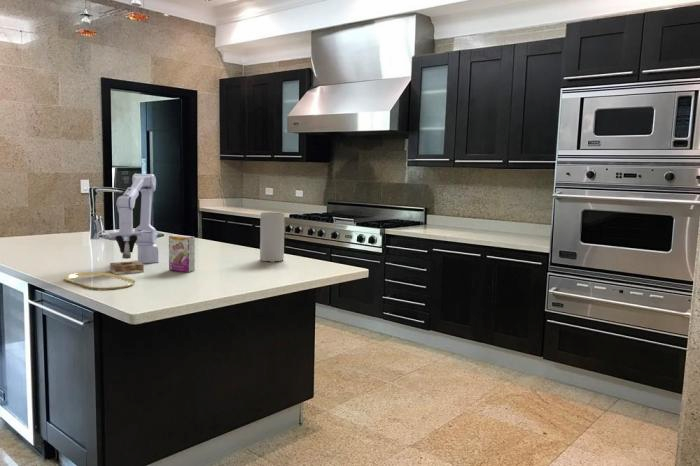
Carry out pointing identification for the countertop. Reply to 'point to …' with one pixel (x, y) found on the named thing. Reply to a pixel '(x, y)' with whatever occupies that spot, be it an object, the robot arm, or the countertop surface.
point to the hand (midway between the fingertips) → (126, 252)
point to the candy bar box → (181, 253)
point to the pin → (126, 249)
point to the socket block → (126, 267)
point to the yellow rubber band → (100, 274)
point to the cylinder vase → (272, 236)
